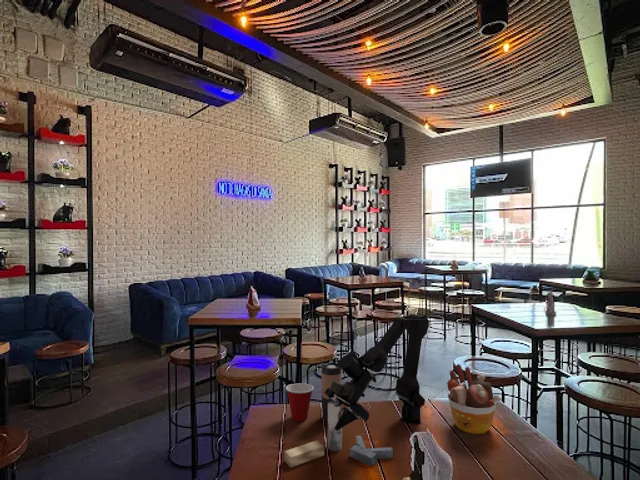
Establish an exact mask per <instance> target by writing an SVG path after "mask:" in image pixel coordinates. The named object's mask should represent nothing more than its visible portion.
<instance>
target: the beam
mask: <svg viewBox="0 0 640 480" xmlns="http://www.w3.org/2000/svg"><path fill="white" fill-rule="evenodd" d="M283 453H284V462H285V463H286V465H287V466H289V468H293V467H296V466H299V465H302V464H304V463H307V462H310V461H313V460H315V459H318V458H321V457H323V456H325V445H324V444H323V443H322V442H320V441H319V439H316V440H314V441H311V442H307V443H305V444H302V445H299V446H296V447H293V448H290V449H287V450H284V452H283Z"/></svg>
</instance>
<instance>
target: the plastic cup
mask: <svg viewBox="0 0 640 480" xmlns="http://www.w3.org/2000/svg"><path fill="white" fill-rule="evenodd" d="M285 390H286V393H287V396H288V403H289V409H290V416H291V419H292V420H293V421H294V422H300V423H301V422H305V421H306V420H308V417H309V416H308V415H309V409H310V404H311V399H312V394H313V391H314V386H313V385H312V384H309V383H291V384H288V385H286V386H285Z"/></svg>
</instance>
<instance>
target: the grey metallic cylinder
mask: <svg viewBox="0 0 640 480" xmlns="http://www.w3.org/2000/svg"><path fill="white" fill-rule="evenodd" d="M342 409H343V404H341V403H340V402H337V401H332V402H329V403H328V424H327V448H328V450H329V451H331V452H338V451H341V450H342V449H343V427H342V428H341V429H339V430H335V427H336V424H337V423H338V421H339V419H340V417H341V416H342V414H343V410H342Z"/></svg>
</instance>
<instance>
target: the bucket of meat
mask: <svg viewBox="0 0 640 480" xmlns="http://www.w3.org/2000/svg"><path fill="white" fill-rule="evenodd" d="M455 368H456V372H457V374H456V372H455V371H454V370H450V371H449V376H450V379H448V381H447V385H446V386H447V390H448V391H449V393H448V394H447V398H448V401H449V406H450V410H451V415H452V419H453V422H454V425H456V427H457V428H458V429H459V430H460V431H462V432H464V433H466V432H467V433H466V434H472V435H483V434H484V435H485V434H486V433H487V432H488V431H489V430H490V429H491V428H492V423H493V420H494V416H495V411H496V407H497V401H498V402H499V401H501V400H502V397H500V396H499V395H497V394H493V392H494V391H493V388H492V382H488V381H485V379H487V377H486V375H484V374H480V375H477V377H476V379H477V380H473V378H472V373H471V368H470V367H468V366H466V367H465V368H464V371H465V375H464V372H463V368H462V365H461V364H459V363H457V364H456V367H455ZM457 375H458V377H457ZM465 376H466V380H465ZM466 381H467V384H466ZM467 387H468V388H467Z"/></svg>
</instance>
